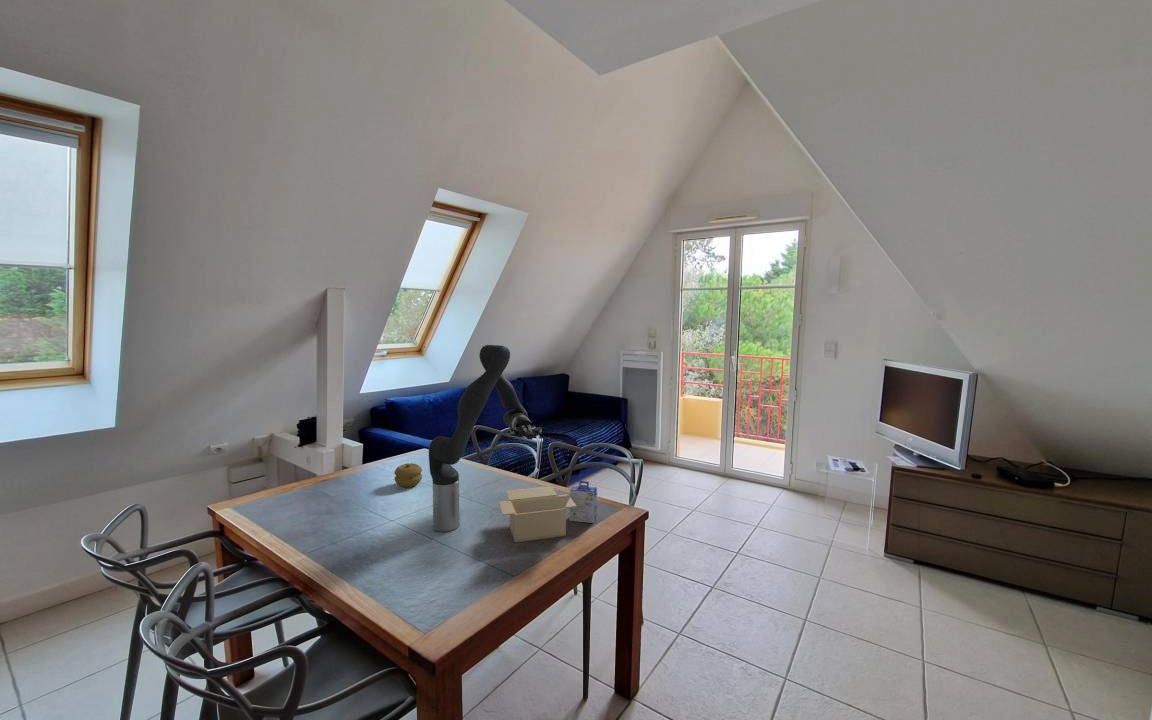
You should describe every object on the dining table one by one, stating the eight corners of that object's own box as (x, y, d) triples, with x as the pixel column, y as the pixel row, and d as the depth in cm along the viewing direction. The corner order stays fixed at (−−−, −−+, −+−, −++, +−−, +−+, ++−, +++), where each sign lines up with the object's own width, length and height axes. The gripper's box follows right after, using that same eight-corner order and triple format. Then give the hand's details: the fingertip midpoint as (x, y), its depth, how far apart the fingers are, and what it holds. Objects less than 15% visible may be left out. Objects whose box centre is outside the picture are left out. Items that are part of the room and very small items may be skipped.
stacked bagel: (416, 490, 206) (416, 468, 205) (390, 489, 206) (389, 467, 205) (426, 480, 217) (425, 459, 216) (400, 480, 218) (400, 459, 217)
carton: (503, 544, 160) (503, 515, 158) (495, 518, 180) (495, 491, 178) (576, 534, 167) (577, 506, 166) (561, 510, 187) (561, 484, 186)
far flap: (516, 512, 160) (516, 513, 160) (519, 500, 153) (519, 501, 153) (564, 506, 165) (565, 507, 165) (570, 495, 158) (570, 496, 158)
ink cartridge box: (597, 517, 181) (597, 481, 180) (594, 523, 176) (595, 486, 174) (572, 514, 183) (572, 478, 182) (568, 521, 178) (569, 484, 176)
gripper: (505, 417, 188) (512, 427, 171) (538, 415, 192) (548, 425, 175) (505, 435, 189) (512, 448, 172) (538, 433, 192) (548, 445, 176)
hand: (530, 436), depth 174 cm, fingers closed
